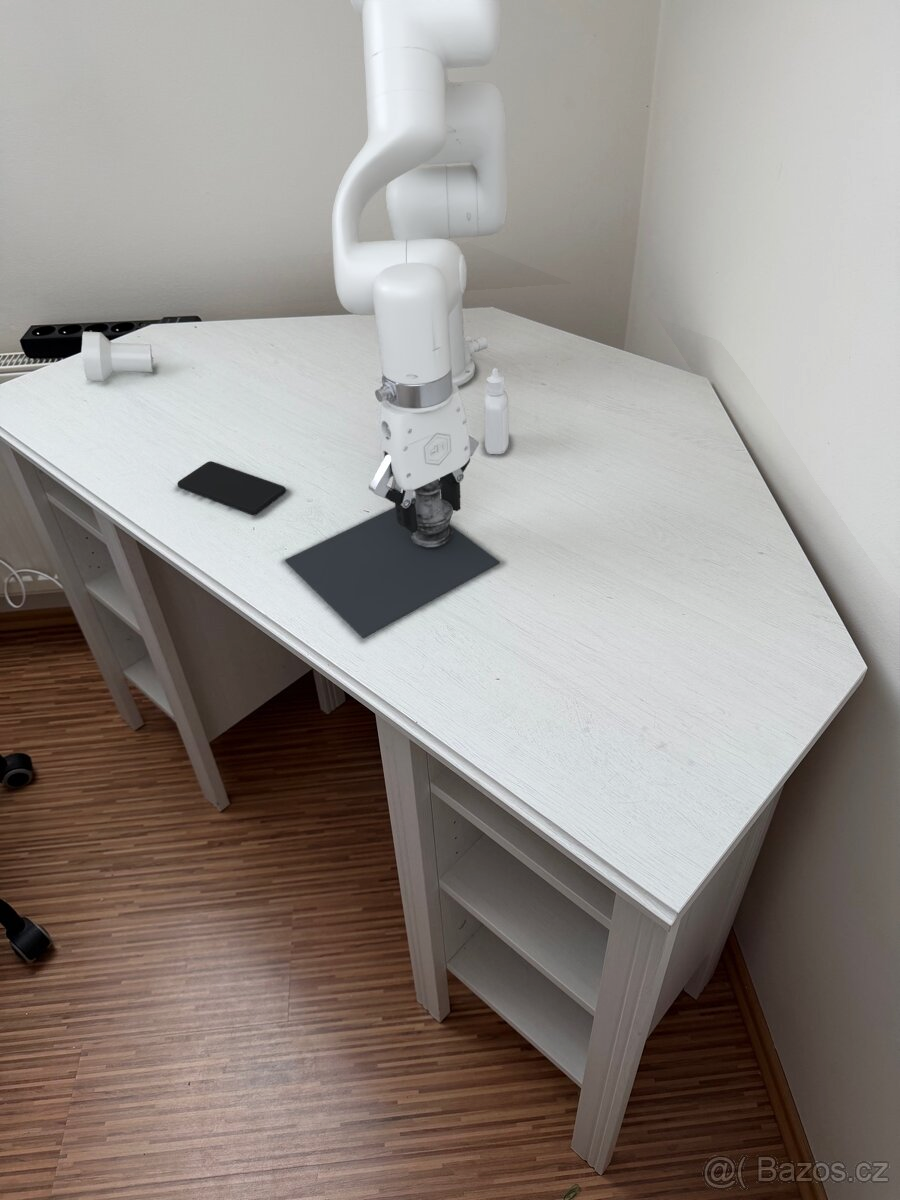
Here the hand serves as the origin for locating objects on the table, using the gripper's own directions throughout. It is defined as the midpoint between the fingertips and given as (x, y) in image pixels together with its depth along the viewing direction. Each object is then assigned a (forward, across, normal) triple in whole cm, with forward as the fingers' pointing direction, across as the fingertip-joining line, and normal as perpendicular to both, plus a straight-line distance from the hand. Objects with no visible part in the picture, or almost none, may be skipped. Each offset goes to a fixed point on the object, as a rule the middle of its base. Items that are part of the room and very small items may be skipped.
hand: (429, 515), depth 103 cm
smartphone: (+4, -14, +28) cm, 32 cm away
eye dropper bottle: (+4, +21, +12) cm, 24 cm away
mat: (+4, -6, 0) cm, 8 cm away
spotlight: (+4, -13, +74) cm, 75 cm away
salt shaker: (+3, 0, 0) cm, 3 cm away
